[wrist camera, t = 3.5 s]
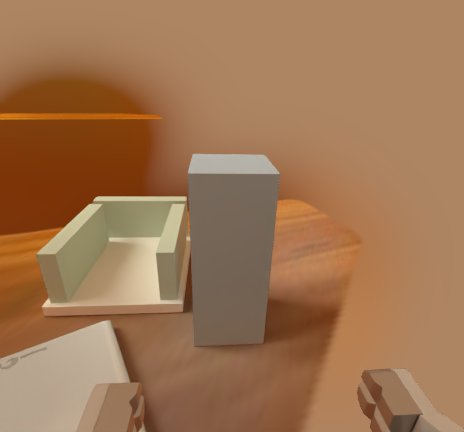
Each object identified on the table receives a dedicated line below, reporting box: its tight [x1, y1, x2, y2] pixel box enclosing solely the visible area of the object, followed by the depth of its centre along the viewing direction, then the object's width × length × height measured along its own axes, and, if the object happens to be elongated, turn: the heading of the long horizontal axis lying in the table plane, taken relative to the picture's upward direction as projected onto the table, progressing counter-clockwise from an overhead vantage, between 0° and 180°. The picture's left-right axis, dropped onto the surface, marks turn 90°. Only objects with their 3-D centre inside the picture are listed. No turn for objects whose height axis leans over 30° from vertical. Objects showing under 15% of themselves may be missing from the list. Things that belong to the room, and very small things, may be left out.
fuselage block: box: [188, 154, 280, 346], centre depth 22 cm, size 6×6×14 cm
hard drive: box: [0, 320, 146, 432], centre depth 17 cm, size 2×8×12 cm
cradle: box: [36, 197, 191, 316], centre depth 30 cm, size 12×14×6 cm
